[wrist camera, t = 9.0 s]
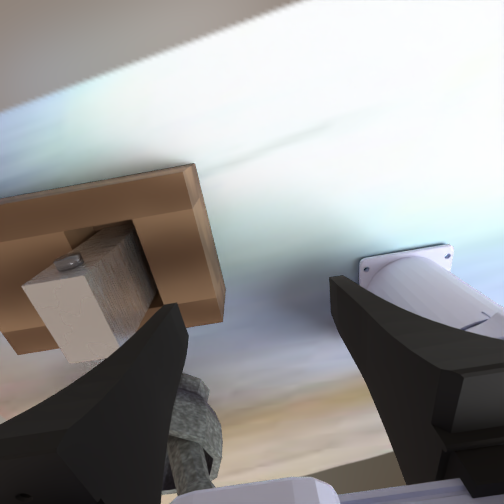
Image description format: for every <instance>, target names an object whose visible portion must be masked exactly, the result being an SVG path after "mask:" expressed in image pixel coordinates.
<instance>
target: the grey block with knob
mask: <svg viewBox="0 0 504 504" xmlns="http://www.w3.org/2000/svg"><path fill="white" fill-rule="evenodd" d="M21 287H22V288H23V290H24V292H25V293H26V295H27V296H28V298H29V300H30V301H31V303H32V304H33V306H34V307H35V309H36V311H37V312H38V314H39V315H40V317H41V319H42V320H43V322H44V323H45V325H46V327H47V328H48V330H49V331H50V333H51V335H52V336H53V338H54V339H55V341H56V343H57V344H58V346H59V347H60V349H61V351H62V352H63V354H64V355H65V357H66V359H67V360H68V362H69V363H70V364H73V363H79V362H85V361H92V360H98V359H104V358H108V357H109V356H110V355H111V354H112V353H114V352H115V351H116V350H117V349H118V348H119V347H121V346H122V345H123V344H124V343H125V342H126V341H127V340H128V339H129V338H130V337H131V336H133V335H134V334H135V333H136V331H137V329H138V327H139V325H140V323H141V321H142V319H143V317H144V316H145V314H146V312H147V310H148V308H149V306H150V304H151V302H152V300H153V298H154V296H155V294H156V292H157V291H158V288H157V285H156V282H155V280H154V277H153V274H152V272H151V269H150V266H149V263H148V261H147V258H146V255H145V253H144V250H143V247H142V245H141V242H140V239H139V237H138V234H137V231H136V229H135V226H134V223H132V224H127V225H121V226H115V227H110V228H104V229H102V230H100V231H99V232H98V233H96V234H95V235H93V236H92V237H90V238H89V239H88V240H86V241H85V242H83V243H82V244H80V245H79V246H78V247H76V248H75V249H73V250H72V251H70V252H69V253H68V254H65V255H63V256H60V257H58V258H57V259H55V260H54V261H53V264H52V265H51V266H49V267H48V268H46V269H45V270H43V271H42V272H41V273H39V274H38V275H36V276H35V277H33V278H32V279H31V280H29V281H28V282H26V283H25V284H24V285H22V286H21Z"/></svg>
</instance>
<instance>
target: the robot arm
mask: <svg viewBox="0 0 504 504" xmlns="http://www.w3.org/2000/svg"><path fill="white" fill-rule="evenodd" d="M453 253H454V247H453V246H451V245H449V244H445V245H439V246H433V247H427V248H421V249H415V250H409V251H403V252H397V253H391V254H385V255H379V256H373V257H367V258H363V259H362V260H361V261H360V263H359V285H358V284H356V283H355V282H353V281H352V280H350V279H348V278H347V277H345V276H343V275H341V276H334V277H329V282H330V302H331V314H332V317H333V319H334V322H335V325H336V327H337V330H338V332H339V334H340V336H341V338H342V339H343V341H344V343H345V345H346V347H347V349H348V350H349V352H350V354H351V356H352V358H353V360H354V361H355V363H356V365H357V367H358V369H359V370H360V372H361V374H362V376H363V378H364V380H365V382H366V384H367V387H368V389H369V391H370V394H371V396H372V398H373V401H374V403H375V405H376V408H377V410H378V413H379V415H380V418H381V420H382V422H383V425H384V427H385V430H386V432H387V435H388V437H389V440H390V443H391V445H392V448H393V450H394V453H395V455H396V458H397V461H398V463H399V466H400V469H401V471H402V474H403V477H404V480H405V482H406V486H398V487H391V488H385V489H377V490H370V491H363V492H355V493H348V494H342V495H337V494H336V492H335V490H334V489H333V487H332V486H331V485H329V484H328V483H326V482H324V481H321V480H318V479H316V478H313V477H287V478H280V479H273V480H266V481H259V482H252V483H245V484H238V485H231V486H224V487H217V488H210V489H203V490H196V491H193V492H189V493H186V494H183V495H180V496H177V497H176V498H175V499H174V500H173V501H172V502H171V503H170V504H504V308H503V307H502V306H500V305H499V304H497V303H496V302H494V301H493V300H491V299H490V298H488V297H487V296H485V295H484V294H482V293H481V292H479V291H478V290H476V289H475V288H473V287H472V286H470V285H469V284H467V283H466V282H464V281H463V280H461V279H460V278H458V277H457V276H455V275H454V274H452V273H451V272H450V271H451V265H452V259H453ZM446 254H447V256H446V257H445V255H446ZM365 267H368V268H367V269H366V270H364V268H365ZM188 337H189V335H188V332H187V330H186V327H185V324H184V321H183V318H182V315H181V312H180V309H179V306H178V304H177V303H171V304H165V305H163V306H162V307H161V308H160V309H159V310H158V311H157V312H156V313H155V314H154V315H153V316H152V317H151V318H150V319H149V320H148V321H147V322H146V323H145V324H144V325H143V326H142V327H141V328H140V329H139V330H138V331H137V332H136V333H135V334H134V335H133V336H131V337H130V338H129V339H128V340H127V341H126V342H125V343H124V344H123V345H122V346H121V347H119V348H118V349H117V350H116V351H115V352H114V353H112V354H111V355H110V356H109V357H108V358H106V359H105V360H104V361H102V362H101V363H100V364H99V365H97V366H96V367H95V368H93V369H92V370H91V371H89V372H88V373H86V374H85V375H83V376H82V377H80V378H79V379H78V380H76V381H75V382H73V383H72V384H70V385H69V386H67V387H66V388H64V389H63V390H61V391H59V392H58V393H56V394H55V395H53V396H51V397H49V398H48V399H46V400H44V401H43V402H41V403H39V404H38V405H36V406H34V407H32V408H30V409H29V410H27V411H25V412H23V413H21V414H19V415H17V416H15V417H14V418H12V419H10V420H8V421H6V422H4V423H2V424H0V504H161V494H162V484H163V475H164V466H165V458H166V451H167V443H168V436H169V429H170V423H171V417H172V411H173V406H174V402H175V398H176V394H177V390H178V386H179V383H180V379H181V375H182V371H183V367H184V363H185V359H186V355H187V347H188Z"/></svg>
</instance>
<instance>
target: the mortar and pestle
mask: <svg viewBox="0 0 504 504" xmlns="http://www.w3.org/2000/svg"><path fill="white" fill-rule="evenodd" d="M208 396H209V389H208V388H207V387H206V385H205V384H204V383H203V381H202V380H201V379H199V378H196V377H193V376H190V375H187V374H182V375H181V379H180V383H179V386H178V390H177V394H176V398H175V402H174V406H173V411H172V417H171V423H170V429H169V436H168V443H167V451H166V458H165V466H164V475H163V484H162V494H161V495H165V494H173V493H177V495H178V496H180V495H183V494H186V493H189V492H193V491H196V490H203V489H210V488H216V487H215V486H214V485H213V483H212V482H211V481H212V480H214V479H215V478H217V475H218V471H219V467H220V463H221V459H222V444H223V441H222V430H221V424H220V422H219V420H218V418H217V416H216V413H215V412H214V411H213V409H212V408H211V407H210V406H209V404H208V403H207V401H208Z"/></svg>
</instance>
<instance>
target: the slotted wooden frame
mask: <svg viewBox="0 0 504 504" xmlns="http://www.w3.org/2000/svg"><path fill="white" fill-rule="evenodd" d="M132 223H134V226H135V229H136V231H137V234H138V237H139V239H140V242H141V245H142V247H143V250H144V253H145V255H146V258H147V261H148V263H149V266H150V269H151V272H152V274H153V277H154V280H155V282H156V285H157V288H158V291H157V292H156V294H155V296H154V298H153V300H152V302H151V304H150V306H149V308H148V310H147V312H146V314H145V316H144V317H143V319H142V321H141V323H140V325H139V327H138V329H137V331H138V330H139V329H140V328H141V327H142V326H143V325H144V324H145V323H146V322H147V321H148V320H149V319H150V318H151V317H152V316H153V315H154V314H155V313H156V312H157V311H158V310H159V309H160V308H161V307H162V306H163V305H165V304H171V303H177V304H178V306H179V309H180V312H181V315H182V318H183V321H184V324H185V327H186V328H188V327H194V326H200V325H206V324H213V323H219V322H223V314H224V303H225V292H226V288H225V284H224V280H223V276H222V272H221V268H220V264H219V260H218V256H217V252H216V248H215V244H214V240H213V236H212V231H211V227H210V223H209V219H208V215H207V211H206V207H205V203H204V199H203V195H202V191H201V187H200V183H199V178H198V174H197V170H196V166H195V164H189V165H184V166H178V167H172V168H167V169H161V170H156V171H150V172H145V173H139V174H134V175H128V176H123V177H117V178H112V179H106V180H100V181H95V182H89V183H84V184H78V185H73V186H67V187H62V188H56V189H51V190H45V191H40V192H34V193H28V194H23V195H17V196H12V197H6V198H1V199H0V331H1V332H2V334H3V335H4V337H5V338H6V339H7V341H8V342H9V343H10V345H11V346H12V348H13V349H14V350H15V352H16V353H17V354H18V355H21V354H27V353H33V352H40V351H46V350H52V349H58V348H60V347H59V346H58V344H57V343H56V341H55V339H54V338H53V336H52V335H51V333H50V331H49V330H48V328H47V327H46V325H45V323H44V322H43V320H42V319H41V317H40V315H39V314H38V312H37V311H36V309H35V307H34V306H33V304H32V303H31V301H30V300H29V298H28V296H27V295H26V293H25V292H24V290H23V288H22V287H21V286H22V285H24V284H25V283H26V282H28V281H29V280H31V279H32V278H33V277H35V276H36V275H38V274H39V273H41V272H42V271H43V270H45V269H46V268H48V267H49V266H51V265H52V264H53V261H54V260H55V259H57V258H58V257H60V256H63V255H65V254H68V253H69V252H70V251H72V250H73V249H75V248H76V247H78V246H79V245H80V244H82V243H83V242H85V241H86V240H88V239H89V238H90V237H92V236H93V235H95V234H96V233H98V232H99V231H100V230H102V229H104V228H110V227H115V226H121V225H127V224H132ZM137 331H136V332H137Z"/></svg>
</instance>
